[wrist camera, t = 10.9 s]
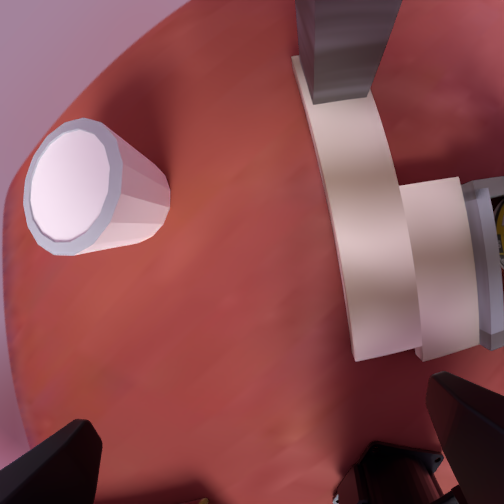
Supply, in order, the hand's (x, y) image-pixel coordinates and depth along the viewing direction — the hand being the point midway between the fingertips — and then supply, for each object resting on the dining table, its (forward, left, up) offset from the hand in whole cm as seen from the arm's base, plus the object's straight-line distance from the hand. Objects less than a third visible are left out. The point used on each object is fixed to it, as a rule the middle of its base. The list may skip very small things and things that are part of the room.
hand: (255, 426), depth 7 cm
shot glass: (+12, -4, -12) cm, 17 cm away
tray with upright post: (-8, -11, -12) cm, 18 cm away
